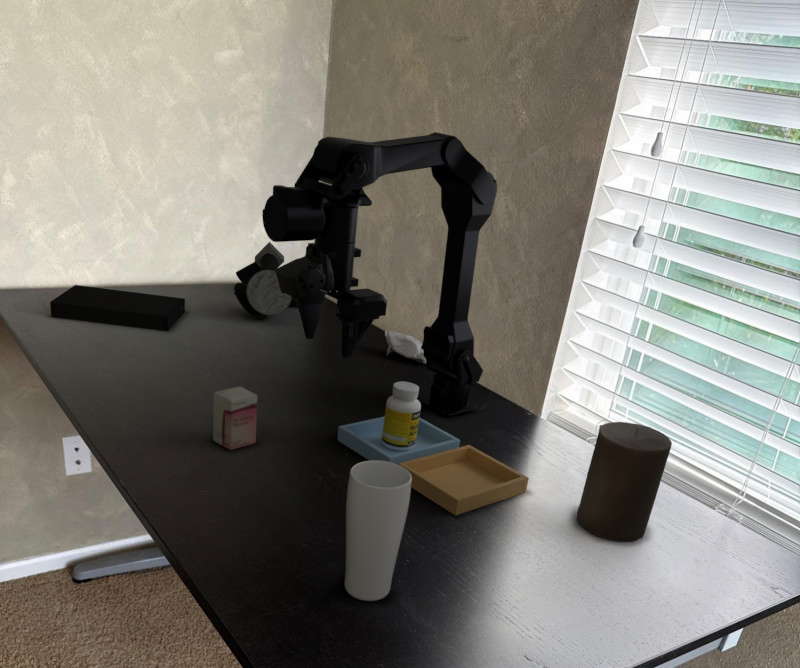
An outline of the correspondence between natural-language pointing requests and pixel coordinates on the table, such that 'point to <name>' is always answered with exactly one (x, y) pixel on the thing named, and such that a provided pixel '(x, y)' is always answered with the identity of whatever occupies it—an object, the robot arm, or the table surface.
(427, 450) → the tray
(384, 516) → the drinking glass
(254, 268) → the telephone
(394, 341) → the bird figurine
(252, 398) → the small box
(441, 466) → the tray
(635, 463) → the pillar candle
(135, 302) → the external hard drive
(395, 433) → the supplement bottle
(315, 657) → the table surface
